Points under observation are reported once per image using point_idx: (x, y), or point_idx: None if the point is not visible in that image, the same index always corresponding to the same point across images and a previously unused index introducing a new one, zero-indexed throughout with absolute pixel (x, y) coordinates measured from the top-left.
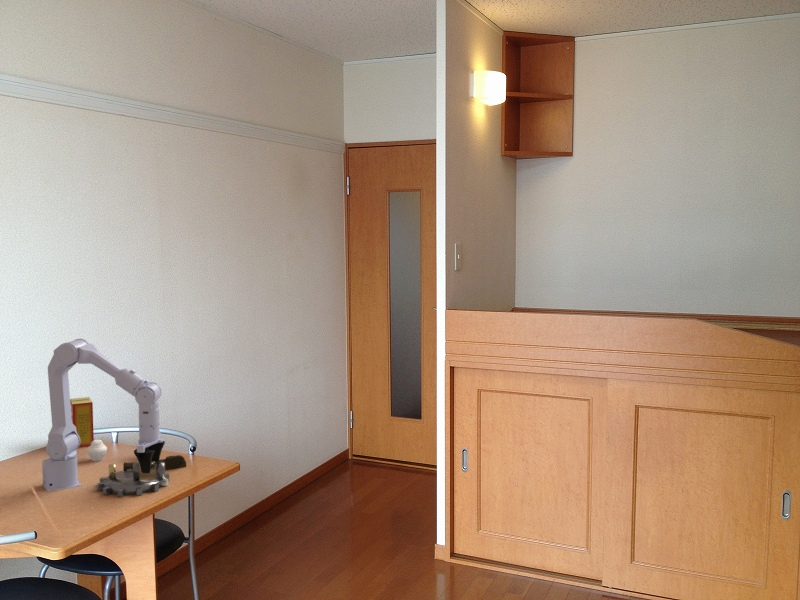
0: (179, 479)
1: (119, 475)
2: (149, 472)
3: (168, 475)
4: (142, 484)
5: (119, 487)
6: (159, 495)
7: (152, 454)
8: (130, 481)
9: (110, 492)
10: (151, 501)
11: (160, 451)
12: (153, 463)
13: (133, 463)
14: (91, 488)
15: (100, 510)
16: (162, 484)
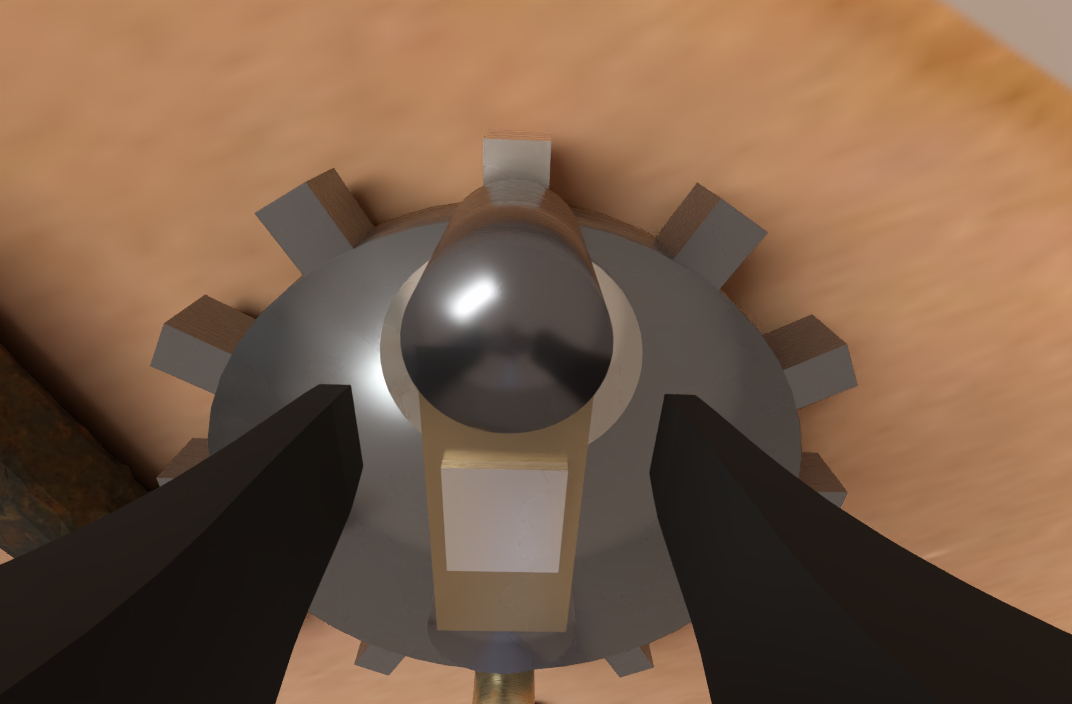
0: (206, 59)
1: None
2: (681, 396)
3: (316, 188)
4: (707, 380)
5: None
6: (789, 138)
7: (995, 651)
8: (599, 505)
9: None
10: (967, 168)
11: (154, 535)
12: (525, 447)
13: (536, 664)
14: None
15: (1027, 497)
16: None
